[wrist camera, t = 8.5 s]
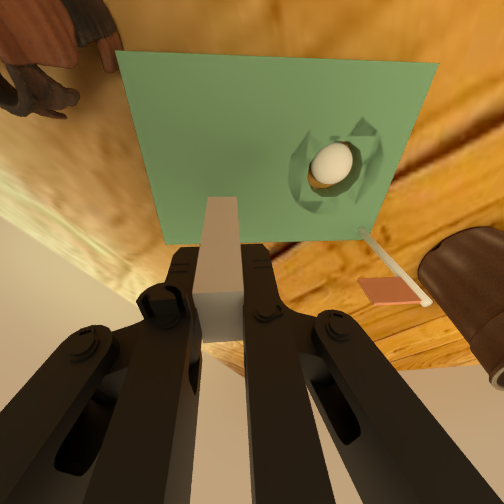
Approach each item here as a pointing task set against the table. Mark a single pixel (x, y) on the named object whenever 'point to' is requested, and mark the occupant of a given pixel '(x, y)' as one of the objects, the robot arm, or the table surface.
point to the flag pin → (390, 281)
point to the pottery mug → (50, 50)
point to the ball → (332, 163)
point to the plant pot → (472, 292)
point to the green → (269, 138)
